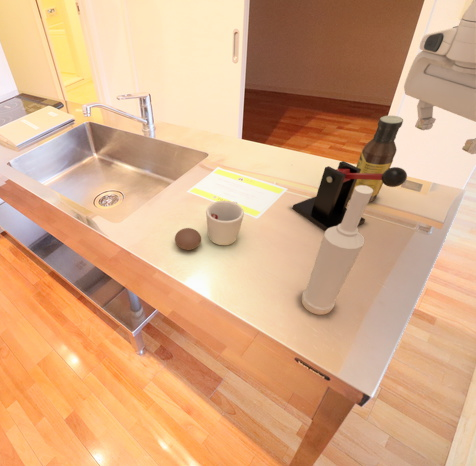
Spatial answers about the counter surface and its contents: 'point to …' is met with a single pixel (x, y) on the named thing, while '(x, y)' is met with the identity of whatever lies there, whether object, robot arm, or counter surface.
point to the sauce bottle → (379, 152)
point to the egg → (188, 238)
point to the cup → (224, 221)
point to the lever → (379, 176)
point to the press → (330, 198)
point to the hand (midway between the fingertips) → (445, 139)
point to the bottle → (336, 256)
